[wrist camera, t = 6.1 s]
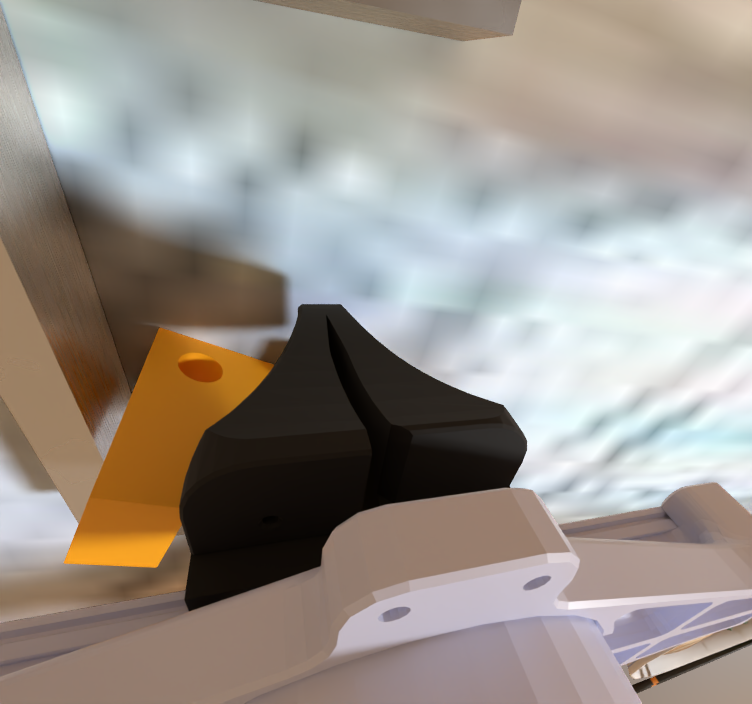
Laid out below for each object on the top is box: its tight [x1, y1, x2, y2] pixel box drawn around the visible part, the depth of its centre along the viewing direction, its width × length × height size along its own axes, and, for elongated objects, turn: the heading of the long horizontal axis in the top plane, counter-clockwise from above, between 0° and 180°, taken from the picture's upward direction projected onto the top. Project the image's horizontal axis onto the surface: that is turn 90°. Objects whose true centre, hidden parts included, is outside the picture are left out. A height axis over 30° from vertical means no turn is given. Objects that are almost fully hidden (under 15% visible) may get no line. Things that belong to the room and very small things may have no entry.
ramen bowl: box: [627, 618, 752, 694], centre depth 40 cm, size 25×23×8 cm
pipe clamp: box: [64, 327, 274, 568], centre depth 13 cm, size 12×4×6 cm, turn 57°
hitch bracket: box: [0, 0, 521, 535], centre depth 12 cm, size 18×12×3 cm, turn 173°
